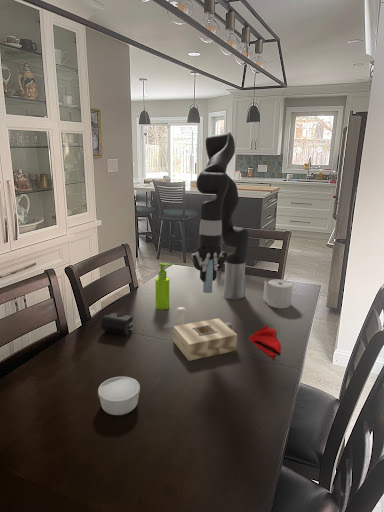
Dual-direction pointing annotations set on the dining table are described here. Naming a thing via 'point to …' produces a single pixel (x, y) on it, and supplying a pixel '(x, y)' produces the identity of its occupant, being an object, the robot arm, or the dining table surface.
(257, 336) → the cloth
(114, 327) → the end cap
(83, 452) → the dining table surface
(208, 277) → the long pin
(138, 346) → the dining table surface
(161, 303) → the soap dispenser
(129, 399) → the ramekin
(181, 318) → the medium pin
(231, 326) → the short pin
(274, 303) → the toilet tissue
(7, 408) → the dining table surface
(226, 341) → the hole block
